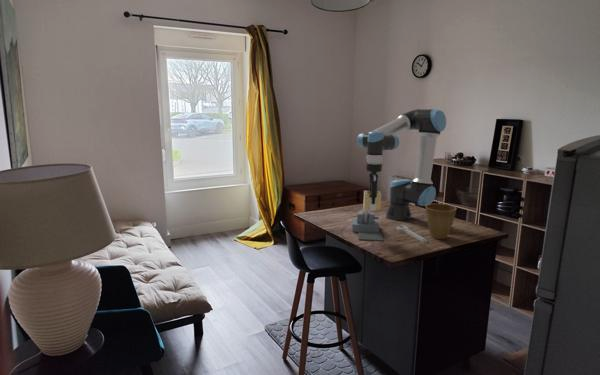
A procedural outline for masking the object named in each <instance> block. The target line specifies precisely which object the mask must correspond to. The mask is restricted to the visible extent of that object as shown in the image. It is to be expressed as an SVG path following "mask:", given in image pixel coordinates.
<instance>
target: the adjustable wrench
mask: <svg viewBox="0 0 600 375" xmlns="http://www.w3.org/2000/svg"><path fill="white" fill-rule="evenodd" d="M396 230H397V231H399V232H404V233H406V234H408V235H409V236H411V237H412V238H415V239H417V240H418V241H419V242H421V243H425V244H426V243H428V239H426V238H424V237H423V236H421V235H419V234H418V233H416V232H414V231H412V230H410V229H409V227H408V226H406V225H402V224H401V225H399V226H396Z"/></svg>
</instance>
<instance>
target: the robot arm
mask: <svg viewBox="0 0 600 375" xmlns="http://www.w3.org/2000/svg"><path fill="white" fill-rule="evenodd" d="M446 127H447V117H446V114H445V112H444V111H442V110H441V109H435V108H433V109H432V108H431V109H426V108H425V109H419V108H418V109H412V110H410V111H407V112H404V113H402V114H401V115H399V116H397V118H396V119H394V120H392V121H391V122H388V123H386V124H384V125H381V126H379V127H378V128H376V129H374V130H371V131H369V132H367V133H366V132H364V133H359V134H358V135H357V137H356V142H357V143H356V144H357V145H358V147H361V148H364V149H366V150H367V151H366V156H365V159H366V162H367V163H366V166H365V167H366V168H365V171H367V172H369V175H368V176H369V179H368V180H369V186H368V191H371V196H369V197H370V210H369V211H376V210H375V209H376V197H377V191H378V179H379V175H378V173H380V172H382V168H383V159H384V158H383V152H384V151H392V150H396V149H398V147H399V146H400V139H399V137H398V136H397V134H399V133H401V132H407V131H409V130H414V131H415V130H417V131H418V134H419V135H420V139H419V141H420V142H419V147H418V155H417V160H416V167H415V168H416V169H415V175H414V178H413V179H408V178H405V179H404V178H403V179H394V180H391V182H390V187H389V188H390V189H389V190H390V191H389V192H390V193H389V203H388V204H389V205H388V208H387V210H386V212H385V217H386V218H387V219H390V220H394V221H395V220H396V221H409V220H411V219H412V211H411V207H410V204H414V205H418V206H422V207H423V206H424V207H425V206H426V205H428V204H433V201H434V200H435V199H436V194H437V191H436V187H434V186H433V185H434V183H433V181H432V178H431V177H432V172H433V167H434V157H435V152H436V146H437V138H438V137H439V136H441V132H443V131H444V130H445V129H446ZM373 194H375V195H373Z"/></svg>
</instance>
